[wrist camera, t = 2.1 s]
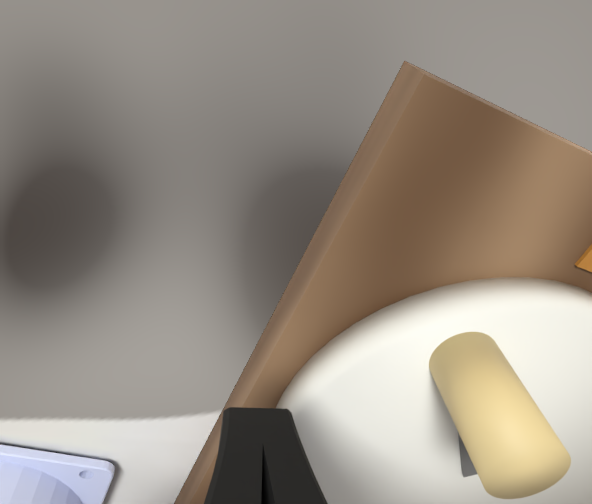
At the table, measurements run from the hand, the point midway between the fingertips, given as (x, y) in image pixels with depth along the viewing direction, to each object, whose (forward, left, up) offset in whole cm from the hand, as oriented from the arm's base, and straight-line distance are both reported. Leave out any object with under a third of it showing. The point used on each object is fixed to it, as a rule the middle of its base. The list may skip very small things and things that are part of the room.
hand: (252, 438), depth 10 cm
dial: (+9, -3, -4) cm, 11 cm away
